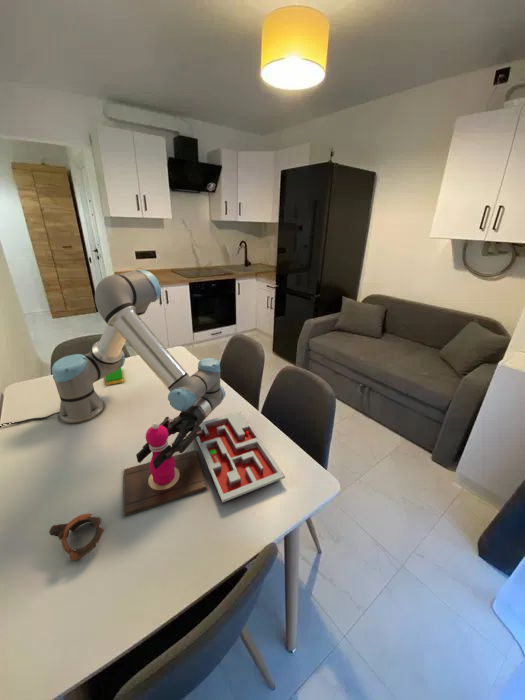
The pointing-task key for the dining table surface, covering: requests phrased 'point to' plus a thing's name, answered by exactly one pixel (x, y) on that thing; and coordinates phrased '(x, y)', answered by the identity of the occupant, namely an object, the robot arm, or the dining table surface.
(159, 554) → the dining table surface
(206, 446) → the maze game
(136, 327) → the robot arm
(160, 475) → the pepper mill
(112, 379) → the dish sponge
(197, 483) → the board
